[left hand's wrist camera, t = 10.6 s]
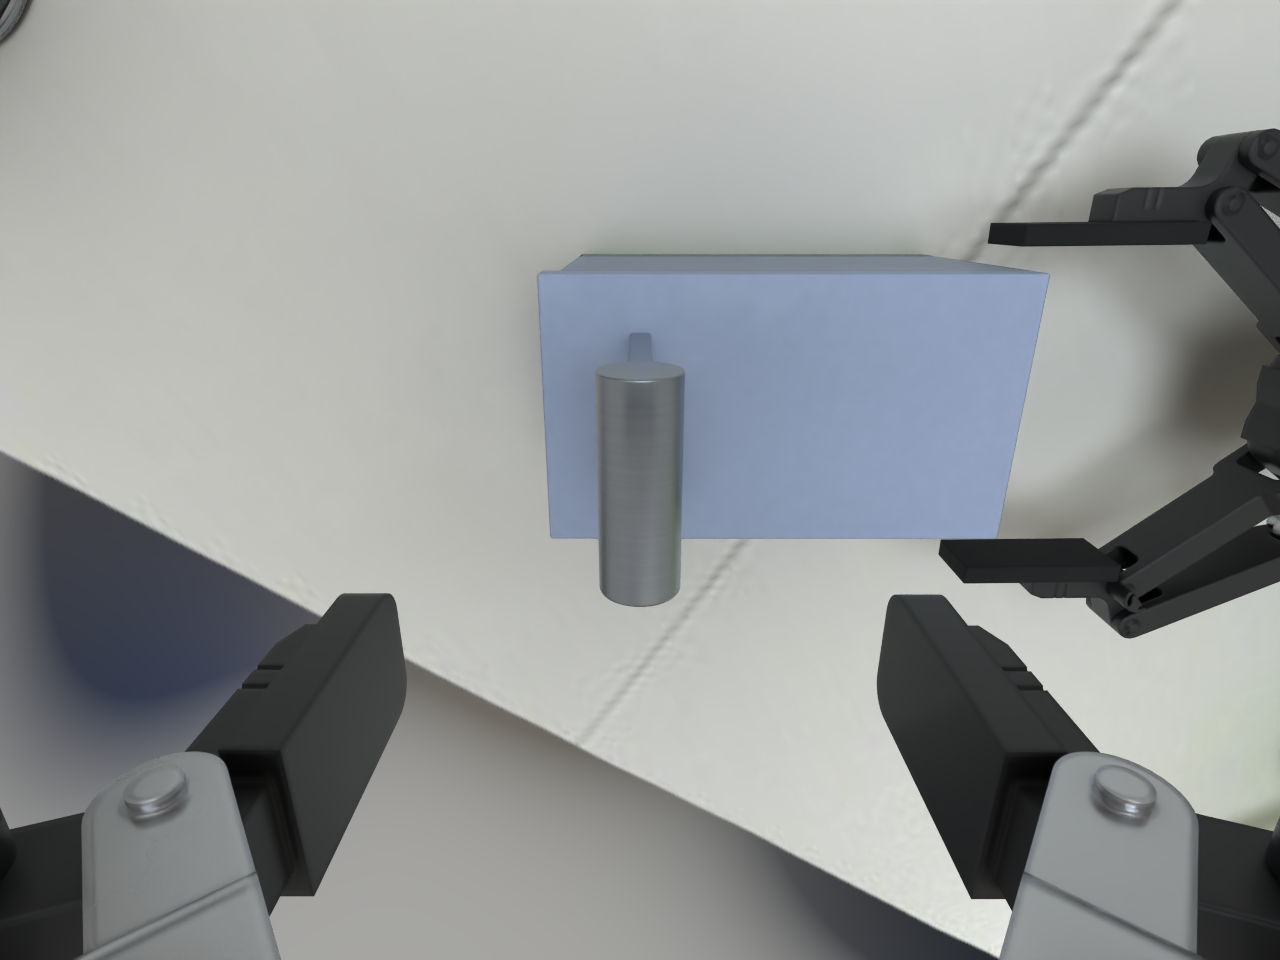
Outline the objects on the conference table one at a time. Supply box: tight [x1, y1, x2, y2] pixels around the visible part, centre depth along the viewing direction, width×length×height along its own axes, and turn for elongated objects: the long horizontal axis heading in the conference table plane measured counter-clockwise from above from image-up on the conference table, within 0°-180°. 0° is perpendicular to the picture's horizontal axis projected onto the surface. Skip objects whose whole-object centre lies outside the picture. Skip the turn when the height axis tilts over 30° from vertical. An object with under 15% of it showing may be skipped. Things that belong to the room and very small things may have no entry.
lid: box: [537, 271, 1050, 607], centre depth 21 cm, size 17×10×9 cm, turn 90°
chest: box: [561, 255, 1029, 271], centre depth 30 cm, size 16×10×10 cm, turn 90°
